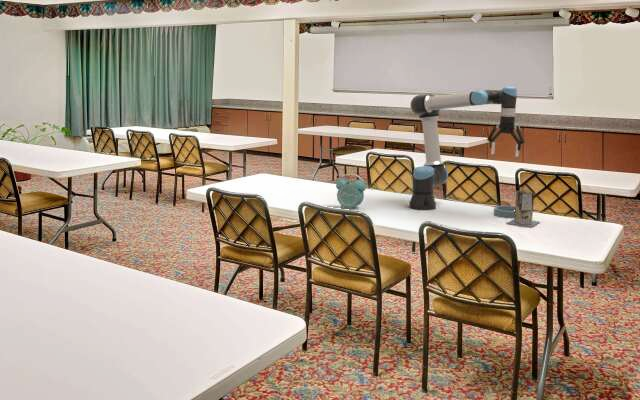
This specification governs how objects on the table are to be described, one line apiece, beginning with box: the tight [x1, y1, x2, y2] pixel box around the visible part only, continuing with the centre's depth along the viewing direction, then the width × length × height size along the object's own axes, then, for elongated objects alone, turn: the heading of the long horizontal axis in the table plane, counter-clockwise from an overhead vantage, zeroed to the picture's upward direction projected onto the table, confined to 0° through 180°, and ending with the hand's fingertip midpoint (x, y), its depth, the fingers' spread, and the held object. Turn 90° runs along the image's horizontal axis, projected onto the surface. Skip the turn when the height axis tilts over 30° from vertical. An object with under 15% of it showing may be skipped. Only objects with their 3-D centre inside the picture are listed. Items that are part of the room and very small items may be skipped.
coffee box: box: [513, 189, 535, 224], centre depth 318 cm, size 9×6×16 cm
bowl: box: [493, 205, 515, 219], centre depth 339 cm, size 16×16×4 cm
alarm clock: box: [335, 173, 367, 210], centre depth 354 cm, size 17×10×20 cm, turn 68°
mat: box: [506, 218, 541, 229], centre depth 320 cm, size 13×13×1 cm
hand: (504, 155), depth 336 cm, fingers open, 13 cm apart
